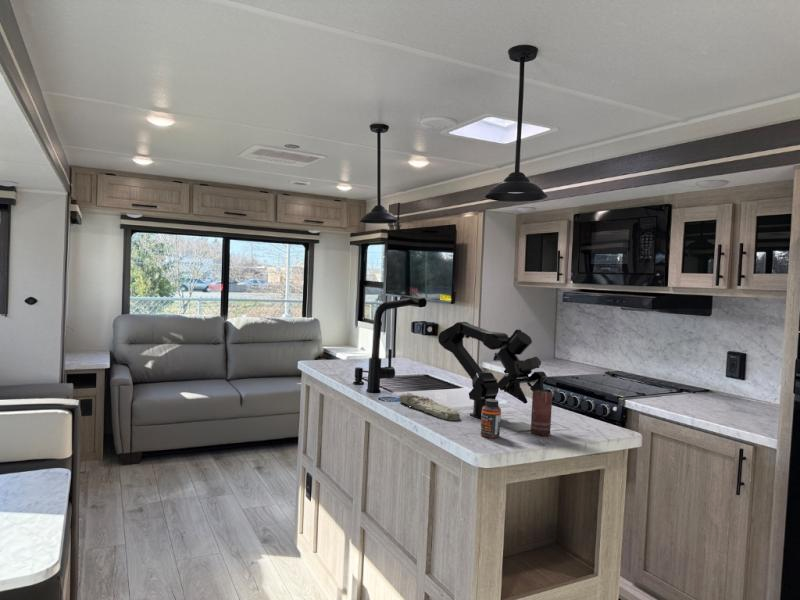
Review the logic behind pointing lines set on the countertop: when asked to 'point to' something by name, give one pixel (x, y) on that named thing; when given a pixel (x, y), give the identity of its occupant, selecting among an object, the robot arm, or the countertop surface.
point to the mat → (517, 426)
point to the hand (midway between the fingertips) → (535, 401)
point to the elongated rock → (429, 406)
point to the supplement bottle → (490, 419)
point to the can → (541, 412)
